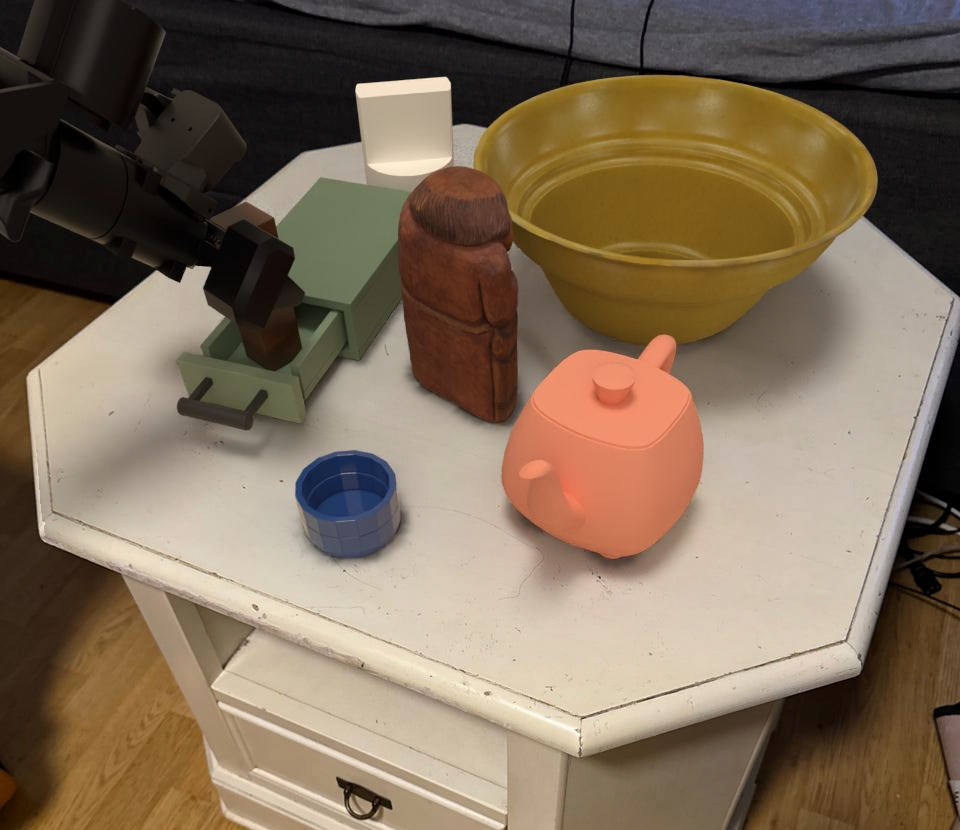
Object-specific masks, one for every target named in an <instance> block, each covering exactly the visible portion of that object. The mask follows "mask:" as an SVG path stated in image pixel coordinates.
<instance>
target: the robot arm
mask: <svg viewBox="0 0 960 830" xmlns="http://www.w3.org/2000/svg"><path fill="white" fill-rule="evenodd" d="M165 36H166V30H165V29H164V28H163V27H162V26H161V25H160V24H158V23H157V22H156V21H155V20H153V18H151V17H150V16H148V14H146V13H145V12H143V11H142V10H141V9H139V8H138V7H137V6H134V5H133V4H131V3H130V2H128V1H125V0H34V2H33V5H32V8H31V10H30V14H29V17H28V20H27V23H26V26H25V29H24V33H23V36H22V39H21V42H20V46H19V48H18V50H17V53H16V54H17V55H16V54H13V53H11V52H9V50H6V49H4V48H3V47H1V46H0V234H1V235H2V236H4V237H5V238H6V239H7V240H9V241H11V242H13V243H17V242H19V241H21V239H22V237H23V234H24V231H25V228H26V226H27V222H28V220H29V217H30V214H33V215H35V216H37V217H39V218H42V219H44V220H47V221H48V222H51V223H53V224H55V225H57V226H59V227H62V228H64V229H67V230H69V231H71V232H73V233H75V234H78V235H80V236H83V237H84V238H86V239H89V240H91V241H93V242H96V243H98V244H99V245H101V246H103V247H104V248H105V249H107V250H108V251H109V252H111V253H113V254H114V255H115V256H117V257H119V258H121V259H123V260H127V261H128V262H131V261H132V259H134V260H136V261H138V262H141V263H143V264H145V265H148V266H150V267H152V268H153V269H154V270H155V271H157V272H159V273H160V274H162V275H163V276H165V277H166V278H168V279H170V280H172V281H175V282H177V283H178V284H181V282H182V279H183V278H184V274H185V272H186V270H187V268H188V269H190V270H194V268H195V267H203V268H204V267H205V268H210V269H209V272H208V274H207V277H206V279H205V282H204V284H203V286H202V290H203V293H204V297H205V301H206V302H207V303H206V304H207V306H208V307H210V308H211V309H213V310H215V311H216V312H218V314H220V315H222V316H223V317H224V318H225V317H226V318H228V319H229V320H231V321H232V322H234V323H235V324H237V325H239V326H241V327H244V328H246V329H249V330H251V331H253V332H256V333H257V332H259V331H261V330H263V329H265V326H266V324H267V322H268V319H269V317H270V315H271V313H272V311H273V310H278V309H283V308H288V307H293V306H298V305H300V304H301V302H302V300H303V298H304V296H305V292H304V291H303V290H302V289H301V288H300V287H299V286H298V285H297V284H296V283H295V282H294V281H293V280H292V279H291V278H290V277H289V276H288V274H289V271H290V269H291V267H292V265H293V262H294V260H295V255H294V249H293V247H291V246H290V245H288V244H286V243H285V242H283V241H281V240H279V239H278V238H276V237H274V236H273V235H271V234H269V233H268V232H266V231H264V230H262V229H261V228H259V227H257V226H255V225H254V224H252V223H250V222H248V221H246V220H245V219H242V220H240V221H238V222H236V223H234V224H232V225H230V226H228V228H227V230H226V231H224V230H223V229H221V228H220V227H218V226H216V225H215V224H213V223H211V222H210V221H209V220H210V219H211V218H212V217H213V215H214V213H215V210H216V208H217V205H218V202H217V201H216V200H214V199H213V198H211V197H209V196H207V195H206V193H208V192H210V191H212V190H213V189H214V188H215V187H216V186H217V185H218V184H219V182H220V181H221V179H222V178H223V177H224V176H225V175H226V174H227V173H228V171H229V170H230V169H231V167H233V165H234V164H235V163H236V162H237V163H238V162H240V161H241V160H242V158H243V157H244V156H245V155H246V152H247V148H248V147H247V143H246V141H245V140H244V139H243V137H242V136H241V134H240V133H239V131H238V130H237V129H236V127H235V126H234V124H233V123H232V121H231V120H230V119H229V117H228V116H227V114H226V113H225V111H224V110H223V108H222V107H221V106H220V105H219V104H218V103H217V102H215V101H214V100H211V99H209V98H207V97H205V96H203V95H201V94H199V93H197V92H195V91H193V90H190V89H185V90H182V91H181V90H179V89H177V88H175V87H174V88H173V89H172V90H171V91H170V94H171V95H172V97H173V98H170V97H168V96H165V95H164V94H162V93H160V92H157V91H155V90H154V89H152V88H149V87H147V85H148V83H149V80H150V77H151V74H152V72H153V69H154V67H155V64H156V61H157V58H158V55H159V53H160V50H161V47H162V45H163V42H164V39H165ZM65 109H67V110H68V111H71V112H72V113H74V114H76V115H77V116H79V117H81V118H83V119H84V120H86V121H88V122H89V123H91V124H93V125H94V126H95V127H98V128H100V129H101V130H103V131H104V132H105V131H106V132H107V134H109V133H110V132H111V129H112V126H113V125H115V126H117V127H118V128H121V130H124V131H125V132H127V131H128V129H129V126H130V125H133V124H134V121H135V123H136V127H137V129H138V131H137V132H136V134H137V135H138V137H139V138H140V139H141V141H140V143H139V145H138V147H136V149H135V151H134V153H133V152H131V151H129V150H128V149H126V148H125V147H122V146H120V145H119V144H116V145H115V148H114V147H113V146H111V145H109V144H106V143H104V142H103V141H101V140H99V139H97V138H95V137H93V135H90V134H88V133H87V132H85V131H83V130H81V129H80V128H77V127H76V126H74V125H72V124H70V123H68V122H67V121H66V120H64V119H62V116H63V113H64V110H65ZM215 242H216V243H217V244H219V245H220V247H219V248H217V247H216V245H215Z"/></svg>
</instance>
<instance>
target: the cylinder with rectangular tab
mask: <svg viewBox="0 0 960 830" xmlns="http://www.w3.org/2000/svg"><path fill="white" fill-rule="evenodd" d="M355 98H356V99H355V100H356V108H357V115H358V123H359V124H358V125H359V131H360V132H359V133H360V140H361V147H362V148H361V149H362V156H363V164H364V173H365V180H366V185H371V186H377V187H384V188H390V189H396V190H402V191H408V192H413V190H414V189H415V188H416V187H417V186H418V185H419V184H420V183H421V182H422V181H423V180H424V179H425V178H426V177H427V176H429V175H430V174H431V173H433V172H435V171H438V170H440V169H444V168H447V167H451V166H455V157H454V132H453V111H452V110H453V109H452V108H453V107H452V105H453V104H452V83H451V81H450V80H449V78H448V77H447V76H438V77H428V78H427V77H426V78H415V79H414V78H413V79H403V80H389V81H379V82H378V81H377V82H365V83H357V84H356V86H355Z"/></svg>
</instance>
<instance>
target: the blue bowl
mask: <svg viewBox="0 0 960 830" xmlns="http://www.w3.org/2000/svg"><path fill="white" fill-rule="evenodd" d="M398 490H399V489H398V482H397V475H396V472H395V471H394V470H393V468H392V467H391V465H390V464H389V462H387V460H385V459H384V458H382V457H379V456H378V455H376V454H374V453H372V452H368V451H362V450H358V449H350V450H338V451H333V452H331V453H328V454H325V455H322V456H319V457H317V458H316V459H315V460H313V461H311V462H310V463H309V464H308V465H307V466H305V467H304V468H303V469H302V471H301V472H300V474H299V476H298V477H297V479H296V481H295V486H294V497H295V501H296V505H297V509H298V512H299V516H300V520H301V523H302V528H303V530H304V532H305V533H306V536H307V537H308V539H309V540H310V542H311V543H312V544H313V545H314V546H315V547H316V548H317V549H318V550H320V551H321V552H323V553H324V554H328V555H330V556H333V557H337V558H347V559H349V558H351V559H352V558H360V557H364V556H368V555H371V554H373V553H377V552H378V551H379V550H381V549H383V548H384V547H385V546H386V545H388V544H389V543H390V542H391V541H392V539H394V537H395V535H396V533H397V531H398V528H399V525H400V522H401V521H402V520H401V506H400V498H399V492H398Z"/></svg>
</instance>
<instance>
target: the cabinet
mask: <svg viewBox="0 0 960 830" xmlns="http://www.w3.org/2000/svg"><path fill="white" fill-rule="evenodd" d="M411 193H412V192H408V191H402V190H396V189H390V188H384V187H377V186H371V185H367V184H366V183H365V184H364V183H358V182H352V181H346V180H341V179H334V178H328V177H322V176H320V177H319V178H318V179H317V181H316V182H314V184H313V185H312V186H311V187H310V188H309V189H308V190H307V191H306V193H304V195H303V196H302V197H301V198H300V199H299V200H298V202H297V203H295V205H294V206H293V207H292V208H291V209H290V211H288V213H287V214H286V215H285V216H284V217H282V219H281V220H280V221H279V223H278V224H276V228H277V233H278V237H279V240H281V241H283V242H285V243H286V244H288V245H290V246H291V247H293V249H294V255H295V260H294V262H293V265H292V267H291V269H290V271H289V274H288V276H289V277H290V278H291V279H292V280H293V281H294V282H295V283H296V284H297V285H298V286H299V287H300V288H301V289H302V290H303V291H304V292H305V296H304V298H303V300H302V302H301V303H306V304H312V305H317V306H322V307H327V308H332V309H337V310H342V311H344V317H345V323H346V330H347V336H348V341H347V342H346V344H345V345H344V347H343V348H342V349H341V351H340V352H339V354H338V355H337V357H339V358H346V359H350V360H354V361H360V360H361V358H362V357H363V356H364V354H365V353H366V351H367V350H368V348H369V347H370V345H371V344H372V343H373V341H374V340H375V338H376V336H377V335H378V334H379V332H380V331H381V329H382V328H383V326H384V325H385V324H386V322H387V320H388V319H389V317H390V316H391V315H392V313H393V312H394V310H395V309H396V307H397V306H398V304H399V303H400V301H401V300H402V291H401V281H400V279H401V276H400V274H399V265H398V224H399V218H400V213H401V210H402V207H403V205H404V203H405V201H406V199H407V198H408V196H409V195H410V194H411Z"/></svg>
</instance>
